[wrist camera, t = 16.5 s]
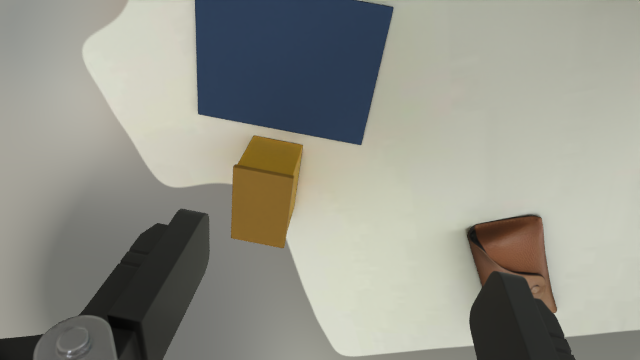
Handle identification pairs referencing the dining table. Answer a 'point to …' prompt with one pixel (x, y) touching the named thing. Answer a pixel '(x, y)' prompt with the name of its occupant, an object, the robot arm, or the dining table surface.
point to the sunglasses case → (513, 253)
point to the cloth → (291, 63)
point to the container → (265, 191)
